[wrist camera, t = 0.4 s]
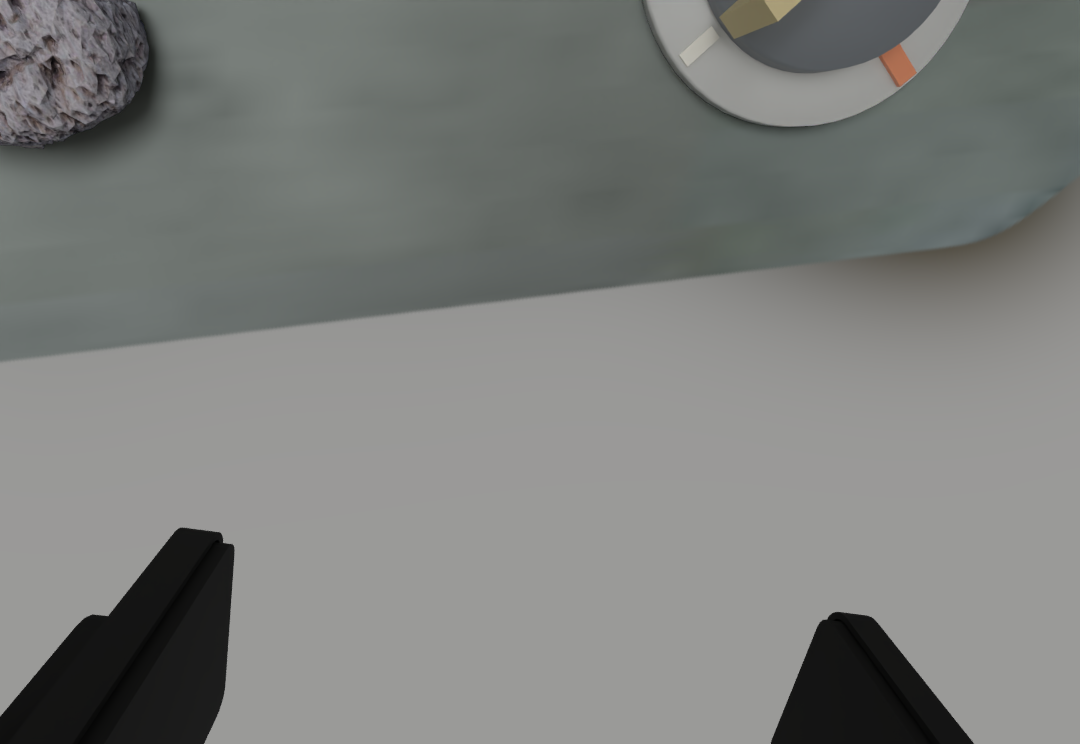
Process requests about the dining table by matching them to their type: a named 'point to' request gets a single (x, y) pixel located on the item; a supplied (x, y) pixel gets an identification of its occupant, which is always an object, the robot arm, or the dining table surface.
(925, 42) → the plate
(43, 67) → the pumice stone
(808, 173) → the dining table surface
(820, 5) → the dial
